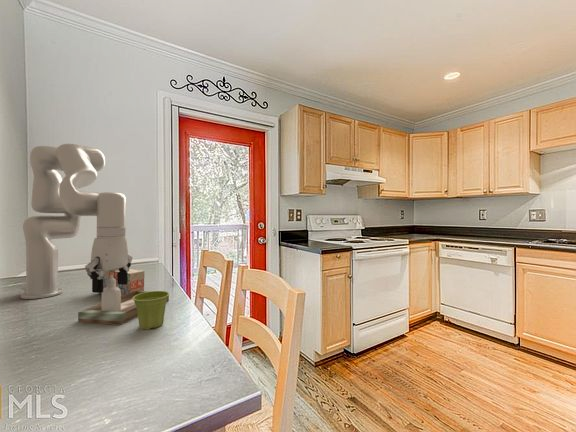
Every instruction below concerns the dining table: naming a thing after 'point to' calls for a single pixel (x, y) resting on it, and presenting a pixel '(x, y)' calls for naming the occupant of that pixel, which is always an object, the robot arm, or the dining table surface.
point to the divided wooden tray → (112, 312)
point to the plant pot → (151, 308)
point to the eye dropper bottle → (111, 296)
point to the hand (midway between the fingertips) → (110, 288)
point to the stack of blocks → (133, 280)
